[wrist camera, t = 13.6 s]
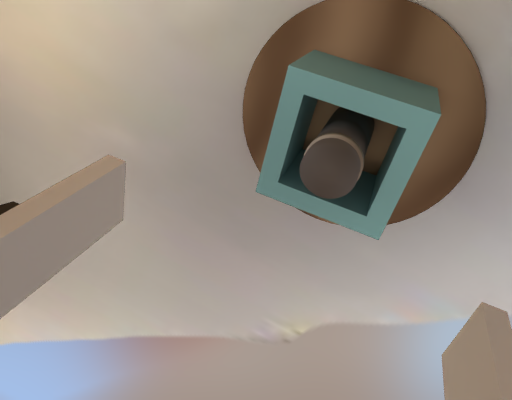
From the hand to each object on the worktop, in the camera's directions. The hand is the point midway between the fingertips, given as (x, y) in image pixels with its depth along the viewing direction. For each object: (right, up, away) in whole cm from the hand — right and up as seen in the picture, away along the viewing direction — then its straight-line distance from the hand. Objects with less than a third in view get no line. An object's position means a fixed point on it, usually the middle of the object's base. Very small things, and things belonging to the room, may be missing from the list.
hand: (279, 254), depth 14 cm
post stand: (+6, +7, +14) cm, 17 cm away
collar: (+6, +7, +13) cm, 16 cm away
